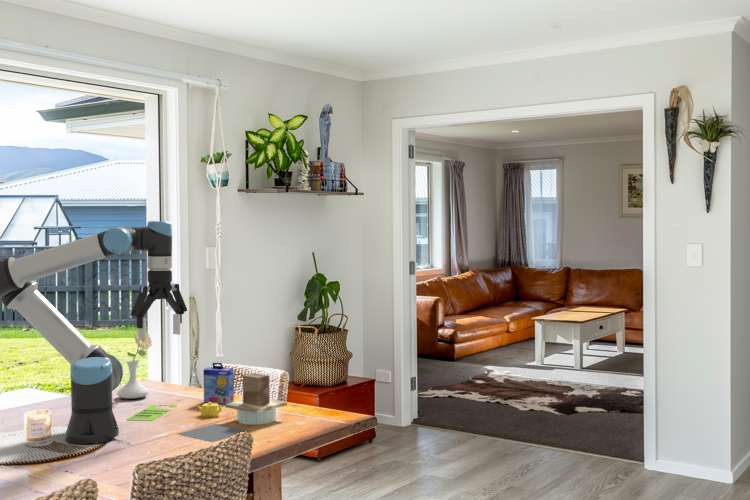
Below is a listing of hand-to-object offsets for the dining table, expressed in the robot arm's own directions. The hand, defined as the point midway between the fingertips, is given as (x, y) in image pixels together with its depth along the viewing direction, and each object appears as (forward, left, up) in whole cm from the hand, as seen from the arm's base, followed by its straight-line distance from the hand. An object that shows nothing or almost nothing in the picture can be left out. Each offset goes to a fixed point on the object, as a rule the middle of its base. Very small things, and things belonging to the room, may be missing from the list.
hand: (159, 336), depth 262 cm
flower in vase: (+22, +42, -29) cm, 55 cm away
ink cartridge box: (+35, +11, -29) cm, 47 cm away
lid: (+21, -22, -23) cm, 38 cm away
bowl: (+21, -22, -29) cm, 42 cm away
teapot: (+16, -5, -29) cm, 33 cm away
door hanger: (+11, +17, -29) cm, 35 cm away
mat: (+2, -23, -29) cm, 37 cm away
